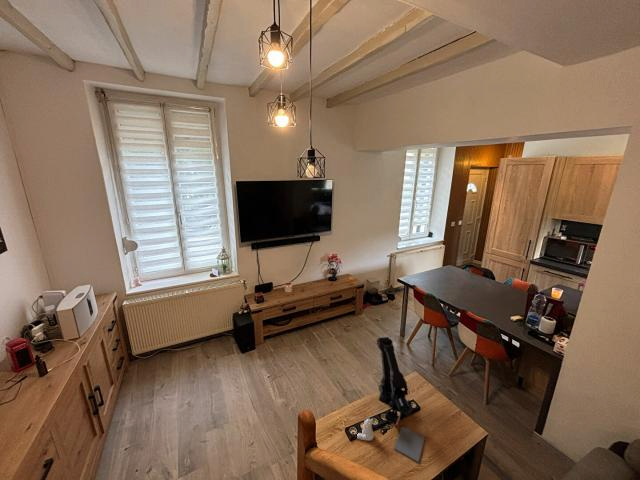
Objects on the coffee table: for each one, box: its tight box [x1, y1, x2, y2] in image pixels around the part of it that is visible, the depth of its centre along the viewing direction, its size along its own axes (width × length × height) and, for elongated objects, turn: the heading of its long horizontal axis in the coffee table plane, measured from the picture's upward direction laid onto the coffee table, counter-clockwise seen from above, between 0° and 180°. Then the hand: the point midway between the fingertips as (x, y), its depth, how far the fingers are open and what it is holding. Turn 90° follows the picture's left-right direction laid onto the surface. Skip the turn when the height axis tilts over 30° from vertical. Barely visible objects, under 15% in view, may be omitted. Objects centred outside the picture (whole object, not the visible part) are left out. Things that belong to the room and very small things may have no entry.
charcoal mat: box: [393, 425, 425, 464], centre depth 138 cm, size 12×14×1 cm
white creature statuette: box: [356, 418, 375, 442], centre depth 141 cm, size 10×9×12 cm
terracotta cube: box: [390, 409, 401, 426], centre depth 150 cm, size 5×5×5 cm
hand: (394, 418), depth 151 cm, fingers closed on terracotta cube, 5 cm apart
